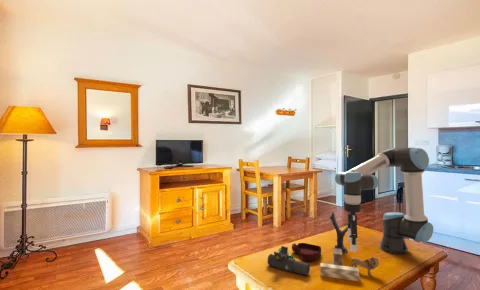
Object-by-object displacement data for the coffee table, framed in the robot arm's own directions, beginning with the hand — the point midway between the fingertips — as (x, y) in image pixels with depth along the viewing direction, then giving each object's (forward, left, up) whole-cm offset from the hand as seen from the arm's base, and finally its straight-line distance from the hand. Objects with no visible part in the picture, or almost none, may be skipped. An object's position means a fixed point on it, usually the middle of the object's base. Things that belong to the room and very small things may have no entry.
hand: (351, 245), depth 133 cm
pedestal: (+6, -12, -16) cm, 21 cm away
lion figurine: (-7, -9, -16) cm, 20 cm away
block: (+6, 0, -16) cm, 17 cm away
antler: (+4, -33, -16) cm, 37 cm away
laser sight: (+32, 0, -17) cm, 36 cm away
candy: (+35, -16, -17) cm, 41 cm away
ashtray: (+21, -21, -17) cm, 35 cm away
